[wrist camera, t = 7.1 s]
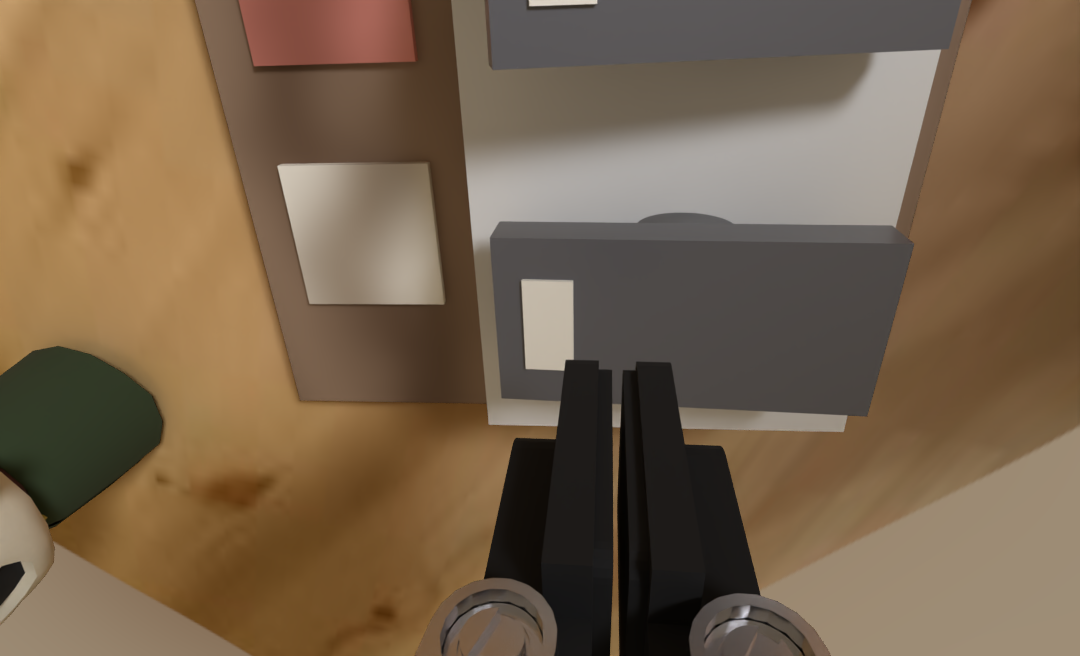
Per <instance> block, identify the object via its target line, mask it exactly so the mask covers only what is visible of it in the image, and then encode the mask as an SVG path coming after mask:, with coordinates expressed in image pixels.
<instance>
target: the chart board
mask: <svg viewBox="0 0 1080 656" xmlns="http://www.w3.org/2000/svg"><path fill="white" fill-rule="evenodd" d="M971 1H972V0H961V4H960V8H959V11H958V15H957V19H956V23H955V27H954V31H953V34H952V38H951V42H950V46H949V49H942V50H941V52H940V56H939V60H938V64H937V67H936V71H935V75H934V79H933V83H932V87H931V91H930V95H929V99H928V103H927V107H926V111H925V115H924V118H923V122H922V126H921V130H920V134H919V138H918V142H917V146H916V150H915V154H914V158H913V162H912V165H911V169H910V173H909V177H908V181H907V185H906V189H905V193H904V197H903V201H902V205H901V209H900V213H899V216H898V220H897V224H896V229H897V230H898V231H899V232H901V233H902V234H903V235H904V236H905V237H907V238H908V237H909V233H910V229H911V226H912V222H913V218H914V214H915V211H916V207H917V203H918V199H919V196H920V192H921V188H922V185H923V181H924V177H925V173H926V170H927V166H928V162H929V158H930V155H931V151H932V147H933V143H934V140H935V136H936V132H937V128H938V125H939V121H940V117H941V113H942V110H943V106H944V102H945V99H946V95H947V91H948V87H949V84H950V80H951V76H952V72H953V69H954V65H955V61H956V57H957V54H958V50H959V46H960V42H961V39H962V35H963V31H964V28H965V24H966V20H967V16H968V13H969V9H970V5H971ZM195 3H196V7H197V11H198V14H199V18H200V22H201V26H202V30H203V33H204V37H205V41H206V45H207V48H208V52H209V56H210V60H211V64H212V67H213V71H214V75H215V79H216V83H217V86H218V90H219V94H220V98H221V102H222V105H223V109H224V113H225V117H226V121H227V124H228V128H229V132H230V136H231V139H232V143H233V147H234V151H235V155H236V158H237V162H238V166H239V170H240V174H241V177H242V181H243V185H244V189H245V193H246V196H247V200H248V204H249V208H250V212H251V215H252V219H253V223H254V227H255V230H256V234H257V238H258V242H259V246H260V249H261V253H262V257H263V261H264V265H265V268H266V272H267V276H268V280H269V284H270V287H271V291H272V295H273V299H274V303H275V306H276V310H277V314H278V318H279V321H280V325H281V329H282V333H283V337H284V340H285V344H286V348H287V352H288V356H289V359H290V363H291V367H292V371H293V375H294V378H295V382H296V386H297V390H298V394H299V397H300V400H310V401H368V402H425V403H483V404H487V399H486V388H485V377H484V366H483V354H482V343H481V332H480V320H479V309H478V298H477V286H476V275H475V264H474V252H473V241H472V230H471V219H470V207H469V196H468V185H467V173H466V162H465V151H464V139H463V128H462V117H461V105H460V94H459V83H458V71H457V60H456V49H455V38H454V26H453V15H452V4H451V0H195Z"/></svg>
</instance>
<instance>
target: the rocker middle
mask: <svg viewBox="0 0 1080 656" xmlns="http://www.w3.org/2000/svg"><path fill="white" fill-rule="evenodd" d="M484 1H485V16H486V31H487V47H488V62H489V66H490V67H491V69H492V70H506V69H528V68H550V67H572V66H593V65H615V64H637V63H659V62H680V61H702V60H724V59H746V58H768V57H789V56H811V55H833V54H855V53H876V52H898V51H920V50H942V49H949V46H950V42H951V38H952V34H953V31H954V27H955V23H956V19H957V15H958V11H959V8H960V4H961V0H484Z"/></svg>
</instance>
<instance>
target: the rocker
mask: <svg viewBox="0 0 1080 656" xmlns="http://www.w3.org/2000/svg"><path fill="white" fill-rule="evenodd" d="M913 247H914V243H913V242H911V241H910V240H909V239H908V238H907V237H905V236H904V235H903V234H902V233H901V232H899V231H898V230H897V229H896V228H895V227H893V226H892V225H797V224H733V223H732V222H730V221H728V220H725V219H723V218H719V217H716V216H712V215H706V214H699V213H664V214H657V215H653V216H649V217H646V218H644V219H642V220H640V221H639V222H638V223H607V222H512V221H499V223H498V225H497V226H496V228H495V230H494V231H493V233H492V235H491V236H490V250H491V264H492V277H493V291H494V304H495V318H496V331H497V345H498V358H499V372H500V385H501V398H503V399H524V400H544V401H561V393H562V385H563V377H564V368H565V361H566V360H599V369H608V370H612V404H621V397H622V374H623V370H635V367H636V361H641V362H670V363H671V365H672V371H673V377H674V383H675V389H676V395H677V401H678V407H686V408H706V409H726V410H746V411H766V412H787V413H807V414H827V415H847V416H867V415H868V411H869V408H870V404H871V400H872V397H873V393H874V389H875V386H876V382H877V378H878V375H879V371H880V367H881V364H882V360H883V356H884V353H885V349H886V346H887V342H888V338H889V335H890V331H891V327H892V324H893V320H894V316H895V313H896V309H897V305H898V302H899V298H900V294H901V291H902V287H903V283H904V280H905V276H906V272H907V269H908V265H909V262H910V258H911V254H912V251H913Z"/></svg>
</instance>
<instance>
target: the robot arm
mask: <svg viewBox="0 0 1080 656" xmlns="http://www.w3.org/2000/svg"><path fill="white" fill-rule="evenodd" d="M617 521H618V590H619V656H831V655H830V653H829V651H828V649H827V647H826V646H825V644H824V643H823V641H822V640H821V638H820V637H819V635H818V634H817V632H816V631H815V629H814V628H813V627H812V626H811V625H810V624H808V623H807V622H806V621H805V620H804V619H803V618H802V617H801V616H800V615H799V614H798V613H796V612H795V611H793V610H791V609H789V608H788V607H786V606H784V605H783V604H781V603H779V602H778V601H775V600H771V599H768V598H765V597H762V596H761V595H760V591H759V587H758V583H757V579H756V575H755V571H754V567H753V563H752V559H751V555H750V551H749V547H748V543H747V539H746V535H745V531H744V527H743V523H742V519H741V515H740V511H739V507H738V503H737V499H736V495H735V491H734V487H733V483H732V479H731V475H730V471H729V467H728V463H727V459H726V455H725V452H724V449H723V448H722V447H721V446H708V445H685V444H684V438H683V432H682V425H681V419H680V413H679V407H678V401H677V395H676V389H675V383H674V377H673V371H672V365H671V363H670V362H641V361H636V367H635V370H623V374H622V397H621V422H620V447H619V472H618V500H617ZM612 586H613V436H612V370H608V369H599V360H566V361H565V368H564V377H563V385H562V393H561V402H560V410H559V418H558V427H557V435H556V439H531V438H516V439H515V440H514V443H513V446H512V451H511V455H510V460H509V465H508V469H507V474H506V479H505V483H504V488H503V493H502V497H501V502H500V507H499V511H498V516H497V521H496V525H495V530H494V535H493V539H492V544H491V549H490V553H489V558H488V563H487V567H486V572H485V577H484V580H479V581H474V582H472V583H470V584H468V585H466V586H464V587H462V588H460V589H458V590H456V591H455V592H454V593H453V594H451V595H450V596H449V597H448V598H447V599H446V600H445V601H444V602H442V603H441V605H440V606H439V608H438V610H437V611H436V613H435V614H434V616H433V617H432V619H431V621H430V623H429V625H428V627H427V630H426V632H425V634H424V636H423V638H422V641H421V643H420V645H419V647H418V649H417V652H416V654H415V656H610V638H611V612H612Z"/></svg>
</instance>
